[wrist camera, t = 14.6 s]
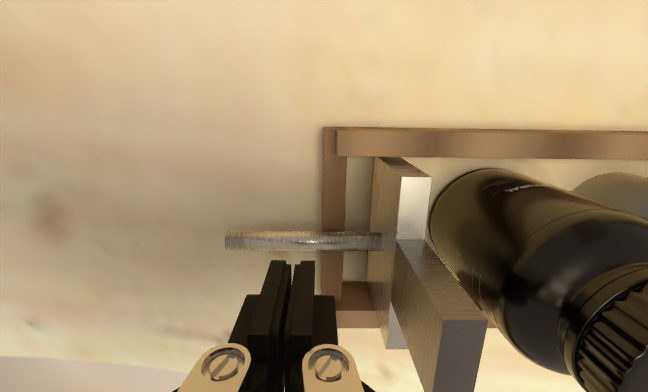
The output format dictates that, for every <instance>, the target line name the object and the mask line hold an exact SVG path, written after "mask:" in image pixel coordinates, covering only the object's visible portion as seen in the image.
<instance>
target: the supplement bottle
mask: <svg viewBox="0 0 648 392" xmlns="http://www.w3.org/2000/svg"><path fill="white" fill-rule="evenodd" d="M430 230H431V237H432V241H433V243H434V246H435V248H436V249H437V251H438V253H439V254H440V255H441V257H442V258H443V260H444V261H445V262H446V263H447V265H448V266H449V267H450V268H451V270H452V271H453V272H454V274H455V275H456V276H457V277H458V279H459V280H460V281H461V282H462V284H463V285H464V286H465V287H466V289H467V290H468V291H469V293H470V294H471V295H472V296H473V298H474V299H475V300H476V301H477V303H478V304H479V305H480V307H481V308H482V309H483V310H484V312H485V313H486V314H487V315H488V317H489V318H490V319H491V321H492V322H493V323H494V324H495V326H496V327H497V328H498V329H499V331H500V332H501V333H502V334H503V336H504V337H505V338H506V339H507V340H508V342H509V343H510V344H511V345H512V346H513V347H514V348H515V349H516V350H517V351H518V352H519V353H520V354H522V355H523V356H524V357H525V358H527V359H528V360H530V361H532V362H533V363H535V364H537V365H539V366H541V367H543V368H546V369H548V370H551V371H554V372H557V373H561V374H565V375H571V376H573V378H574V379H575V380H576V381H577V382H578V383H579V384H580V386H581V387H582V388H583V389H584V390H585V391H586V392H648V219H646V218H643V217H641V216H638V215H636V214H634V213H631V212H628V211H625V210H622V209H619V208H616V207H613V206H611V205H608V204H605V203H602V202H599V201H596V200H593V199H590V198H587V197H584V196H582V195H579V194H576V193H573V192H570V191H567V190H564V189H561V188H558V187H555V186H553V185H550V184H547V183H544V182H541V181H538V180H535V179H532V178H529V177H526V176H523V175H520V174H517V173H514V172H511V171H506V170H501V169H485V170H479V171H475V172H472V173H470V174H467V175H465V176H463V177H461V178H459V179H458V180H456V181H455V182H454V183H452V184H451V185H450V186H449V187H448V188H447V189H446V190H445V191H444V192H443V193H442V195H441V196H440V197H439V199H438V201H437V202H436V204H435V207H434V209H433V212H432V216H431V222H430Z"/></svg>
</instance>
